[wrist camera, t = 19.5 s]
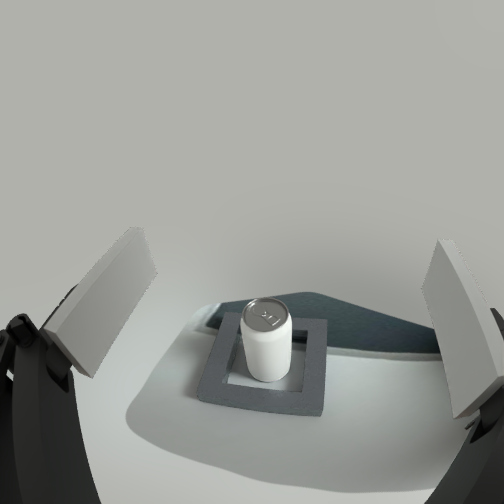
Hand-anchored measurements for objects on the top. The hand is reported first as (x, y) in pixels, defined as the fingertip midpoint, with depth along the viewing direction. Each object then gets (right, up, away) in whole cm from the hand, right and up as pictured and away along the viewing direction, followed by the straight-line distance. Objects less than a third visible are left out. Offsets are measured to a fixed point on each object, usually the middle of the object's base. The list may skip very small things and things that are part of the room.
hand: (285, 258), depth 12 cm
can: (+1, -17, +28) cm, 33 cm away
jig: (+1, -17, +28) cm, 33 cm away
